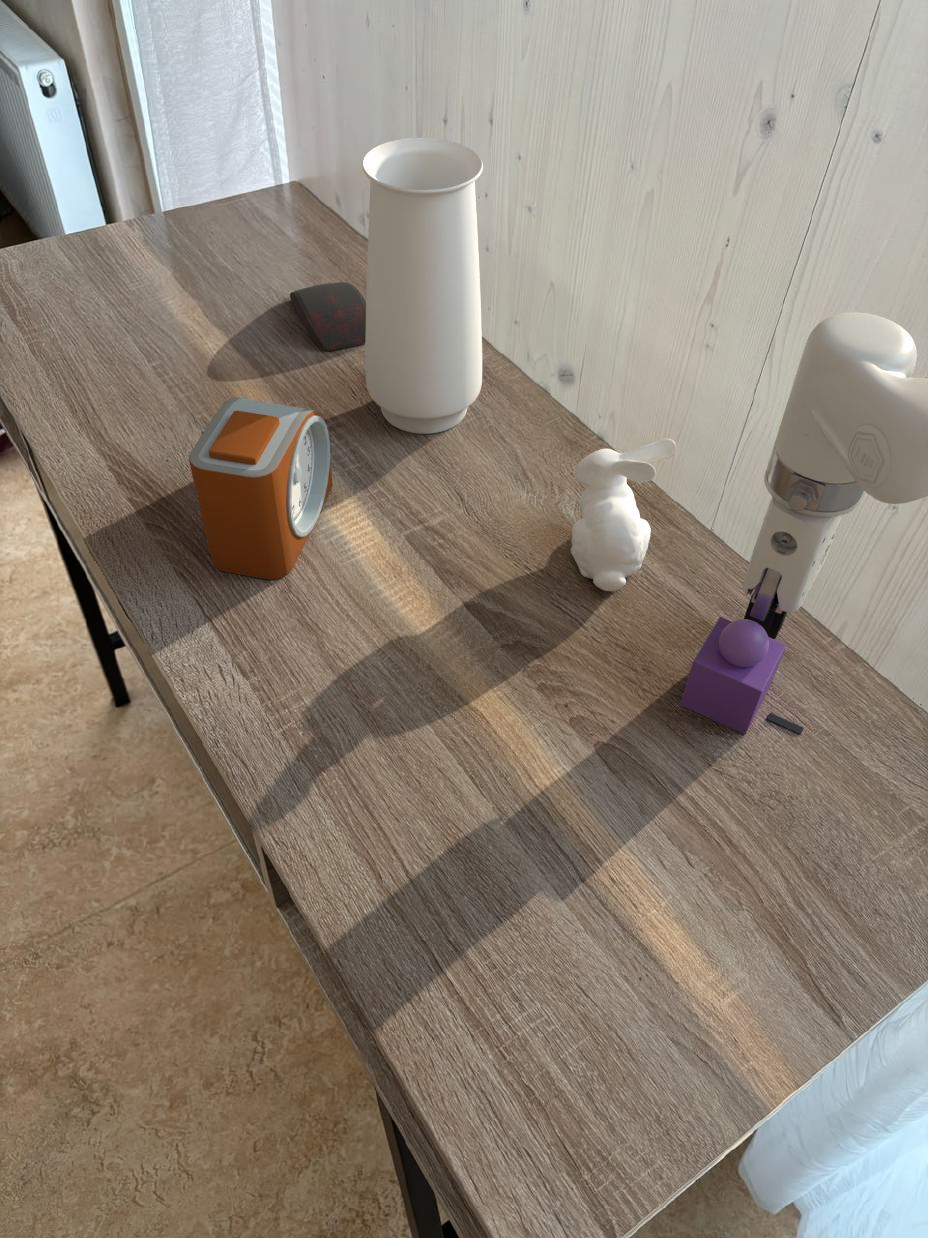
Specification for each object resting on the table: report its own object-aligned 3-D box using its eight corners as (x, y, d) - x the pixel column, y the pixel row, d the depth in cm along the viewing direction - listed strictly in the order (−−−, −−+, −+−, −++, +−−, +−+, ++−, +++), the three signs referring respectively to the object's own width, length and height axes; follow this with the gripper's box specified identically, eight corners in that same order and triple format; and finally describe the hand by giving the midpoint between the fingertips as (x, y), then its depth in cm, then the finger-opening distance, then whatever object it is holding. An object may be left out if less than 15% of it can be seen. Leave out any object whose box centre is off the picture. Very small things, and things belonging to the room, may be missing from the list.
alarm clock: (289, 584, 97) (272, 474, 87) (205, 569, 98) (179, 458, 88) (336, 486, 107) (325, 377, 97) (259, 473, 108) (241, 364, 98)
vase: (344, 407, 116) (324, 161, 95) (424, 362, 122) (423, 122, 102) (423, 458, 110) (421, 208, 89) (504, 408, 116) (519, 164, 96)
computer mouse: (315, 355, 123) (312, 325, 120) (283, 299, 131) (280, 270, 128) (378, 341, 125) (377, 312, 122) (343, 287, 133) (341, 259, 130)
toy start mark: (803, 728, 87) (803, 727, 87) (800, 734, 86) (800, 734, 86) (770, 713, 88) (770, 712, 88) (767, 719, 87) (767, 719, 87)
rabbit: (563, 516, 104) (575, 421, 95) (654, 518, 104) (674, 423, 95) (571, 602, 96) (585, 507, 87) (670, 604, 96) (694, 509, 87)
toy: (769, 688, 90) (797, 618, 83) (745, 735, 86) (772, 666, 79) (706, 660, 92) (728, 590, 85) (679, 705, 88) (700, 635, 81)
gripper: (834, 545, 73) (771, 700, 87) (892, 437, 82) (826, 594, 95) (736, 507, 76) (690, 664, 89) (802, 407, 84) (751, 564, 98)
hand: (760, 627), depth 92 cm, fingers closed
